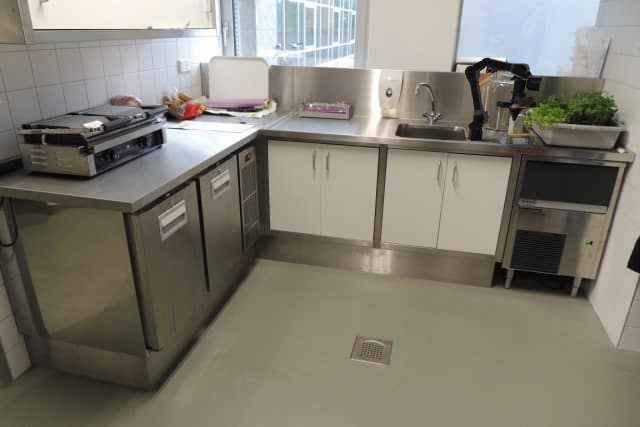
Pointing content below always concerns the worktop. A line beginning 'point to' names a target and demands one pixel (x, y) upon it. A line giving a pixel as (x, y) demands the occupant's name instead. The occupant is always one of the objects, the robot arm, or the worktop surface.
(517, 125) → the skincare box
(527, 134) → the strap
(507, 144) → the clamp base
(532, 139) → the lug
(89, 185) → the worktop surface
